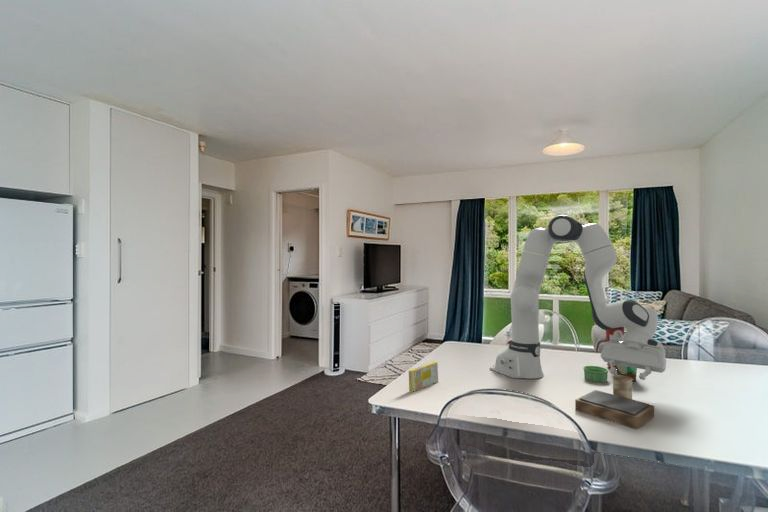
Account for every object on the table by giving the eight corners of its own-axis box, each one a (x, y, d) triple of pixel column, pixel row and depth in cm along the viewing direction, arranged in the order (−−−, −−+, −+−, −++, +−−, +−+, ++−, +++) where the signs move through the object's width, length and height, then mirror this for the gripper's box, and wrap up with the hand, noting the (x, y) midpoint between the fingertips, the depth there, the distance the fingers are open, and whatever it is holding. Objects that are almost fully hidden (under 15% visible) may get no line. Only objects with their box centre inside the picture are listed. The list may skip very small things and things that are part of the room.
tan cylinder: (613, 399, 134) (613, 376, 134) (618, 396, 137) (618, 374, 137) (627, 403, 131) (626, 380, 131) (632, 400, 133) (631, 377, 133)
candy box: (434, 381, 156) (434, 361, 156) (438, 382, 155) (438, 362, 155) (408, 391, 145) (408, 370, 145) (412, 392, 143) (412, 371, 143)
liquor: (620, 366, 173) (619, 305, 173) (628, 371, 166) (627, 307, 166) (603, 365, 174) (602, 305, 175) (610, 370, 167) (609, 307, 167)
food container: (645, 385, 148) (644, 359, 148) (627, 384, 150) (627, 358, 150) (631, 375, 160) (631, 351, 160) (615, 374, 162) (615, 351, 162)
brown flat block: (575, 410, 125) (575, 398, 125) (594, 400, 134) (594, 388, 134) (637, 429, 111) (637, 415, 111) (654, 416, 119) (654, 404, 119)
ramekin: (578, 377, 158) (578, 367, 158) (593, 374, 162) (593, 364, 162) (598, 384, 150) (597, 373, 150) (613, 381, 154) (613, 370, 154)
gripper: (604, 334, 149) (593, 364, 143) (666, 343, 132) (657, 377, 126) (609, 344, 151) (599, 373, 145) (671, 354, 135) (662, 387, 129)
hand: (626, 375), depth 136 cm, fingers open, 8 cm apart
